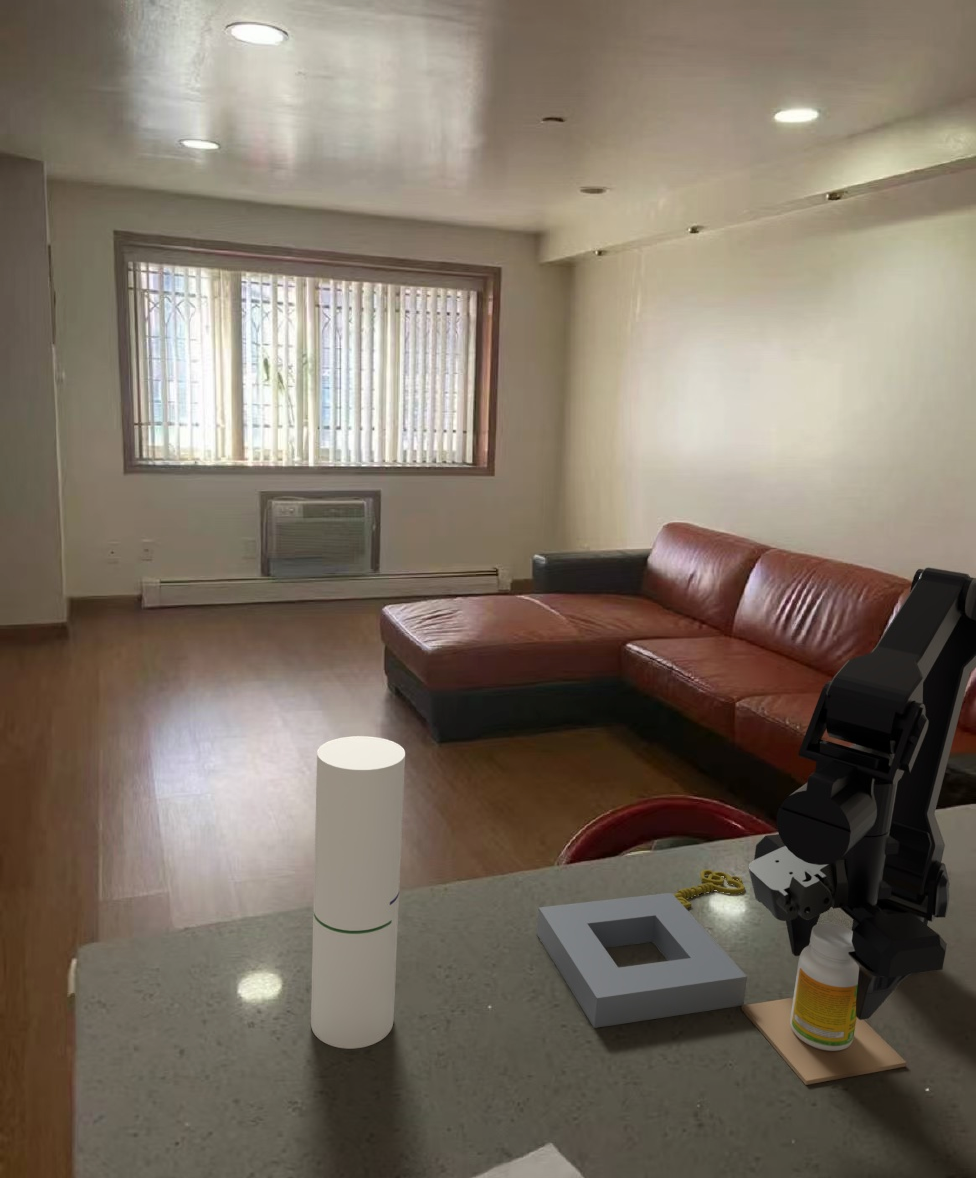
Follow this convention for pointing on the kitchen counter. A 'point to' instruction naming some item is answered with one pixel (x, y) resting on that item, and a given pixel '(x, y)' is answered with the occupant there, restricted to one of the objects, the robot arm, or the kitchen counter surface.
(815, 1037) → the supplement bottle
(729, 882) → the key
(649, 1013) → the grey rectangular frame
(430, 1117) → the kitchen counter surface
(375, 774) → the cylindrical container
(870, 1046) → the pad
